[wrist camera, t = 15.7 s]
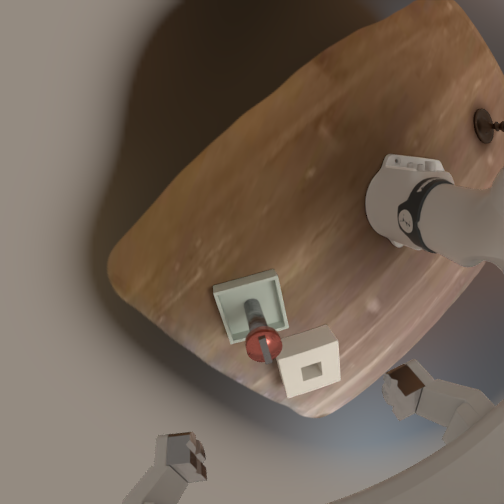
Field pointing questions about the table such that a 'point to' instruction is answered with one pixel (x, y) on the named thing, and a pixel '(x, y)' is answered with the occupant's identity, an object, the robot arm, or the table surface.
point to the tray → (242, 289)
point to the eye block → (309, 361)
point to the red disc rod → (260, 334)
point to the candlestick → (485, 126)
